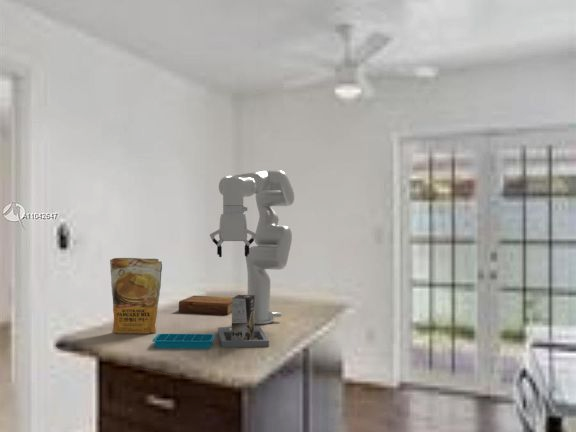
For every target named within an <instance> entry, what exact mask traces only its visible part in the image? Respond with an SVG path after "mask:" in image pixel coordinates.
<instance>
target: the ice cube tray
mask: <svg viewBox="0 0 576 432" xmlns="http://www.w3.org/2000/svg"><path fill="white" fill-rule="evenodd" d="M215 337H216V334H215V333H158V334H156V335H155V337H153V338H152V340H151V341H152V342H154V347H155V349H179V348H186V349H189V350H190V349H191V350H192V349H193V350H195V349H196V350H197V349H199V350H201V349H202V350H203V349H204V350H207V349H211V346H212V345H213V342H214V340H215ZM186 349H185V350H186Z"/></svg>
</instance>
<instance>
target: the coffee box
mask: <svg viewBox="0 0 576 432" xmlns="http://www.w3.org/2000/svg"><path fill="white" fill-rule="evenodd" d="M254 303H255V295H248V294H236V295H235V296H234V297H233V298H232V313H231V327H232V337H230V338H231V340H230V341H234V340H255V337H254V327H255V324H254Z"/></svg>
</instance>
